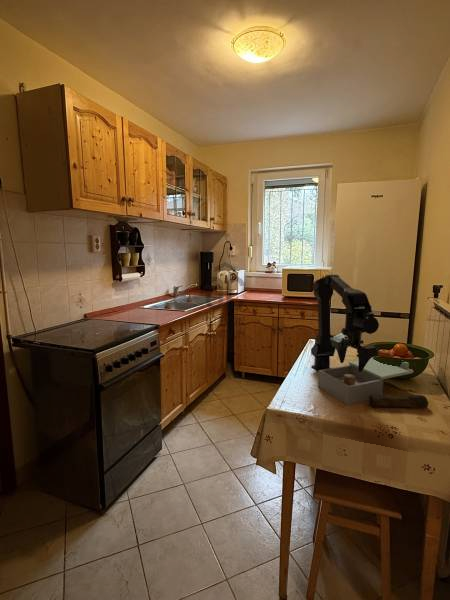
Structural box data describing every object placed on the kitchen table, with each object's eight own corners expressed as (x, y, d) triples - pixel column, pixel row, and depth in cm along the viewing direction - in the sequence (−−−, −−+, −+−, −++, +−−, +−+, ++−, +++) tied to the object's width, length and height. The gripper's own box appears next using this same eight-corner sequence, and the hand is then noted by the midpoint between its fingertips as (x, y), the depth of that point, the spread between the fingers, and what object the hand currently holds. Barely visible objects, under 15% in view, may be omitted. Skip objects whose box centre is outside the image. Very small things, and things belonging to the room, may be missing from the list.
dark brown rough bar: (371, 409, 107) (373, 396, 106) (368, 403, 111) (369, 391, 110) (431, 412, 105) (433, 399, 104) (425, 406, 109) (426, 394, 108)
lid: (348, 364, 129) (349, 356, 128) (378, 358, 134) (379, 351, 134) (381, 379, 114) (382, 371, 113) (413, 372, 120) (413, 364, 119)
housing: (317, 386, 124) (318, 370, 123) (349, 379, 130) (350, 364, 129) (347, 404, 110) (348, 387, 108) (381, 396, 115) (383, 379, 114)
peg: (340, 389, 121) (341, 375, 120) (348, 388, 122) (349, 373, 121) (348, 394, 117) (349, 379, 116) (356, 392, 119) (357, 377, 118)
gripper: (318, 322, 121) (316, 361, 123) (355, 335, 104) (352, 380, 106) (341, 320, 125) (339, 357, 128) (380, 331, 108) (377, 375, 111)
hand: (350, 367), depth 118 cm, fingers open, 9 cm apart
